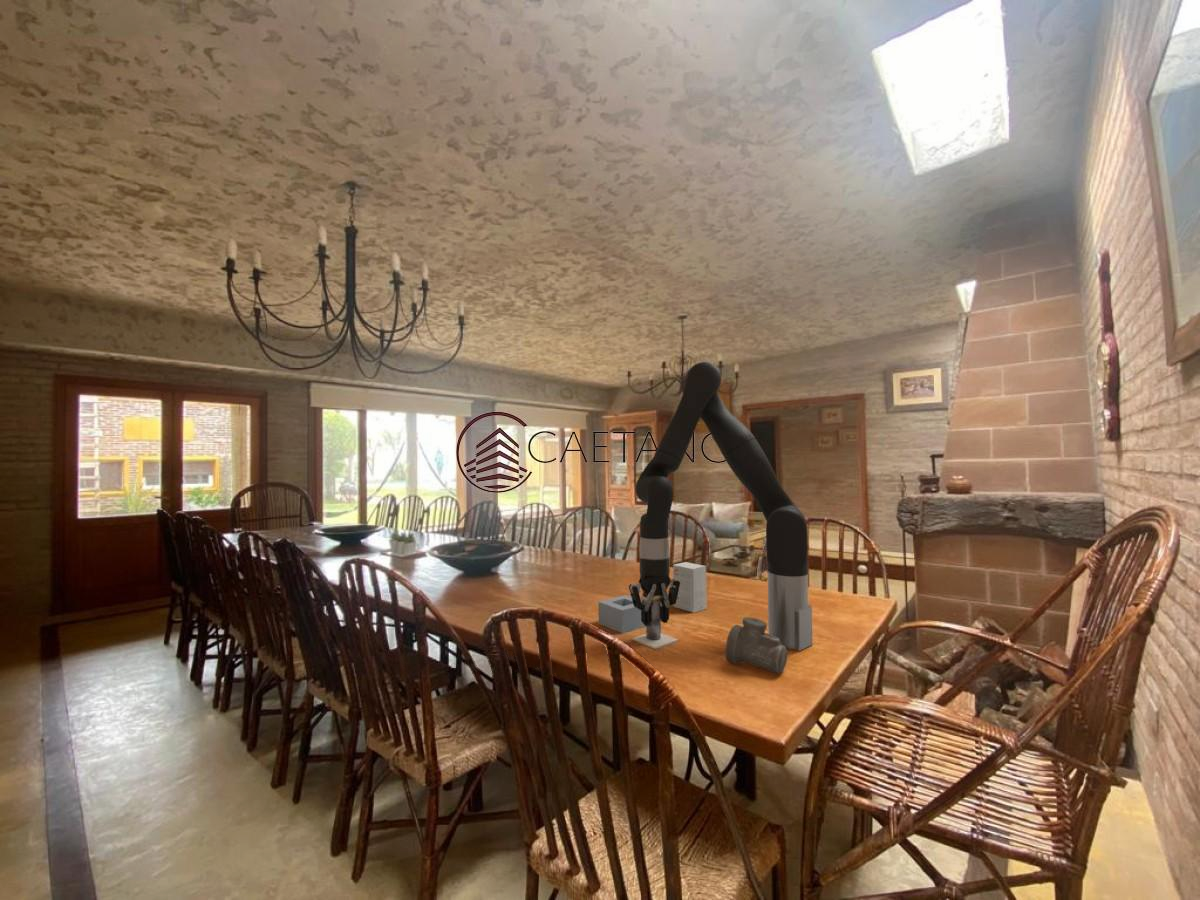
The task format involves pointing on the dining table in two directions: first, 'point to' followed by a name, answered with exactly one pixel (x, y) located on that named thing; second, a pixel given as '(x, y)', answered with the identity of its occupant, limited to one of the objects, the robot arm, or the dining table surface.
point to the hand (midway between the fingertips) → (655, 623)
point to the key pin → (654, 619)
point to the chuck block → (619, 614)
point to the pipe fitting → (755, 646)
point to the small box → (690, 586)
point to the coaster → (655, 641)
